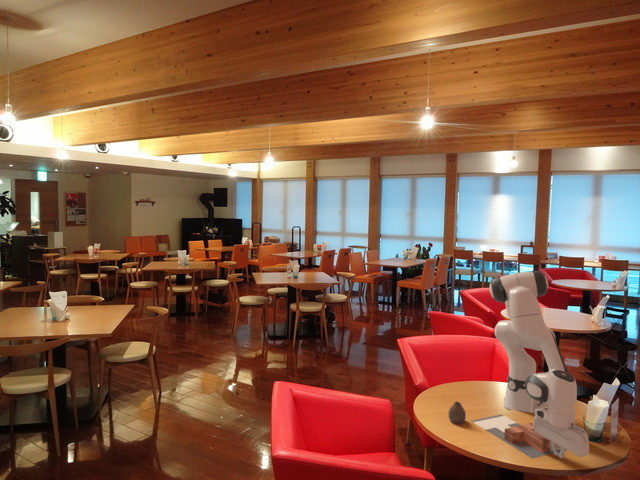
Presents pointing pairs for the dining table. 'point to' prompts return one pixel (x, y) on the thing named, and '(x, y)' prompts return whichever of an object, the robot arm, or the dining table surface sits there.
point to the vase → (457, 413)
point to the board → (497, 428)
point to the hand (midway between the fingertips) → (558, 456)
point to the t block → (527, 437)
